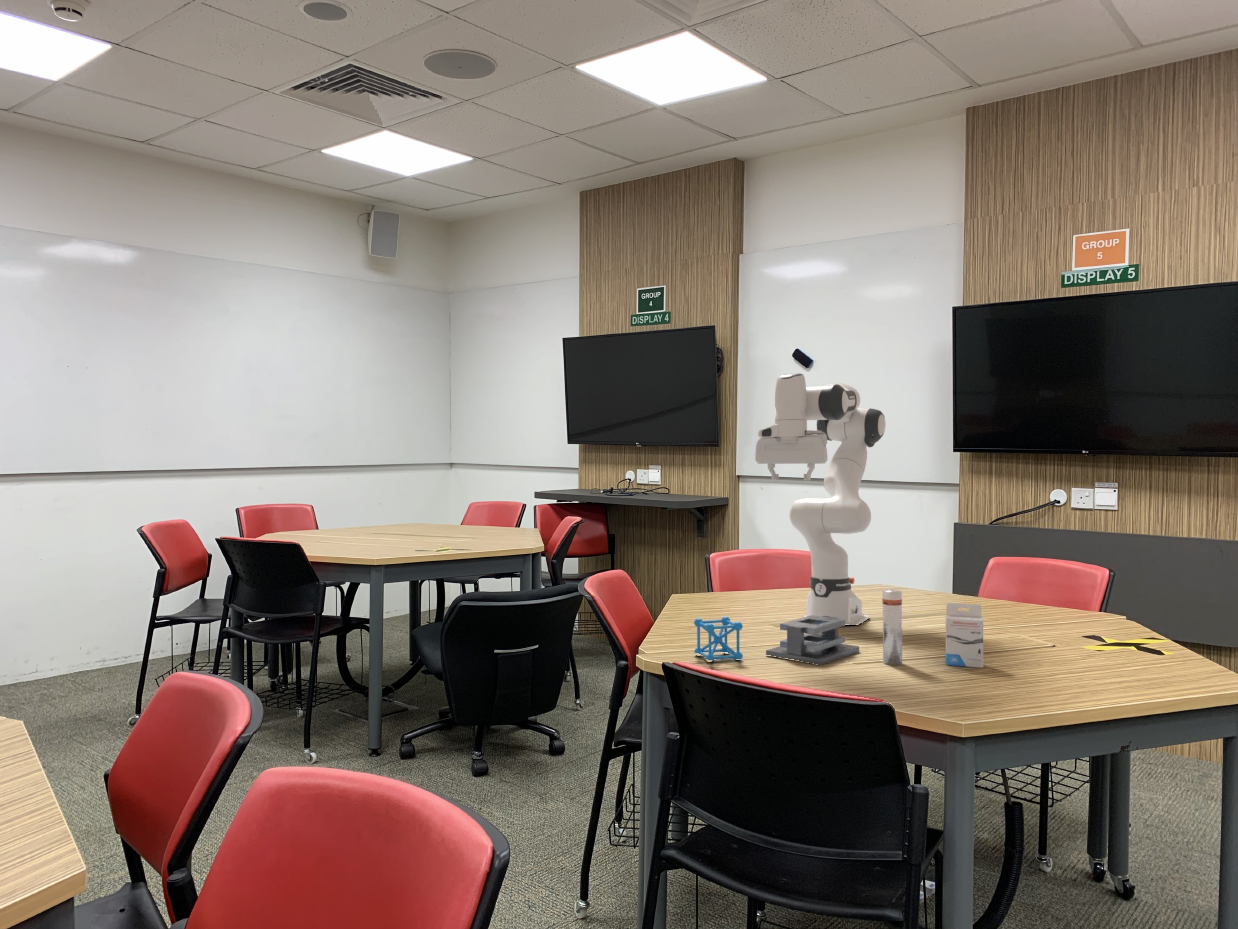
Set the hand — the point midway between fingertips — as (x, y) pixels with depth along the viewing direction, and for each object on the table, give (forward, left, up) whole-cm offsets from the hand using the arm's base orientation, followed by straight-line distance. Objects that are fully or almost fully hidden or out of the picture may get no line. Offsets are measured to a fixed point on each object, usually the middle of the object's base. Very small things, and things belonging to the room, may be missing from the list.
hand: (791, 480), depth 240 cm
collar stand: (+10, +12, -45) cm, 48 cm away
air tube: (+6, +32, -45) cm, 56 cm away
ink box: (-4, +46, -45) cm, 65 cm away
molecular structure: (+30, -4, -46) cm, 55 cm away
